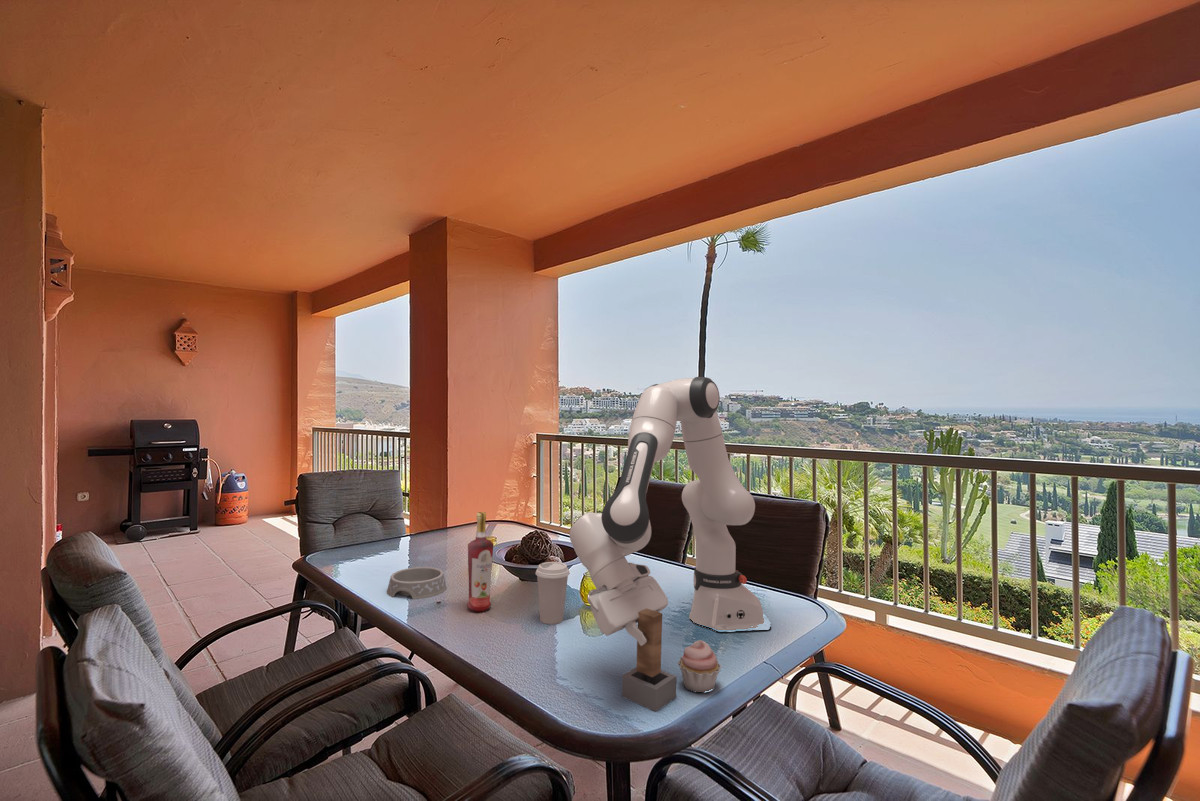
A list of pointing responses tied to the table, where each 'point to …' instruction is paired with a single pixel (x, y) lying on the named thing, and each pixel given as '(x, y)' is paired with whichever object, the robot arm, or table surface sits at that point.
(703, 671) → the cupcake
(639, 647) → the brown wooden block
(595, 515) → the robot arm
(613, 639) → the table surface
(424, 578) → the dog bowl
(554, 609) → the coffee cup
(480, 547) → the liquor
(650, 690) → the end cap
